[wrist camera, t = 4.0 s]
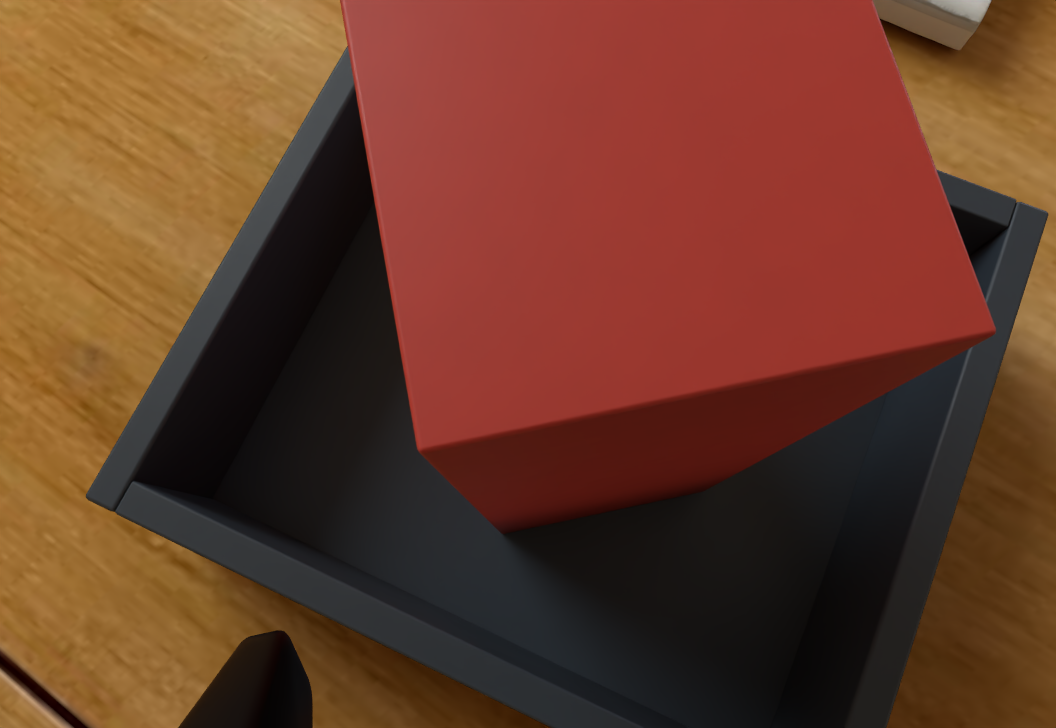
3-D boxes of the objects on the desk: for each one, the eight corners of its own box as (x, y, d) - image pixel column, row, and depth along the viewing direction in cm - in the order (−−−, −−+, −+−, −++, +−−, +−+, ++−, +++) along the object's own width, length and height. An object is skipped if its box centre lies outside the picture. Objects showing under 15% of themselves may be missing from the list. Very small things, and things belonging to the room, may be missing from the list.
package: (704, 491, 19) (999, 333, 7) (501, 534, 19) (417, 455, 7) (645, 263, 21) (796, -211, 8) (456, 301, 21) (318, -123, 8)
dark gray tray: (945, 288, 21) (1051, 211, 17) (770, 799, 18) (843, 872, 14) (421, 83, 23) (392, -35, 19) (185, 515, 20) (82, 497, 16)
